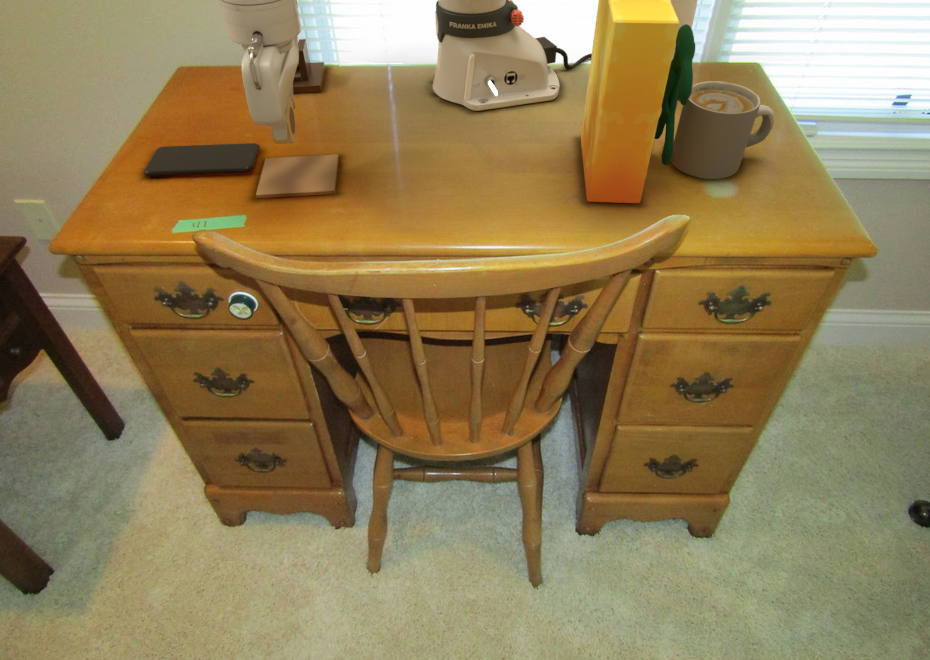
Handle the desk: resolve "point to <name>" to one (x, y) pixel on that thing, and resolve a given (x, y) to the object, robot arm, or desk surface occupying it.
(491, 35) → the robot arm
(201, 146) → the smartphone
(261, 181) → the cork pad
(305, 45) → the stand
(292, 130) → the tape roll
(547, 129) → the desk surface
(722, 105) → the coffee mug
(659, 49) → the mottled yellow carton
